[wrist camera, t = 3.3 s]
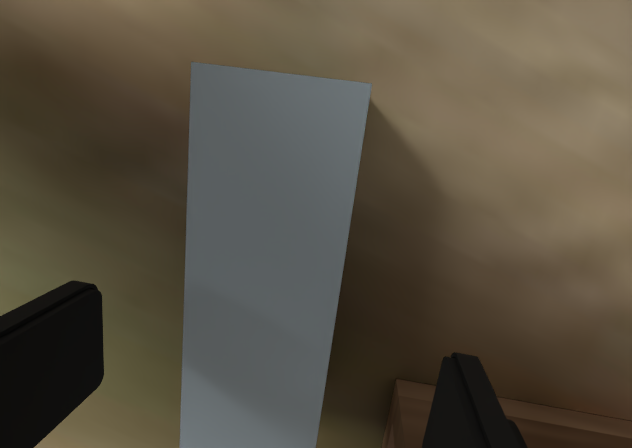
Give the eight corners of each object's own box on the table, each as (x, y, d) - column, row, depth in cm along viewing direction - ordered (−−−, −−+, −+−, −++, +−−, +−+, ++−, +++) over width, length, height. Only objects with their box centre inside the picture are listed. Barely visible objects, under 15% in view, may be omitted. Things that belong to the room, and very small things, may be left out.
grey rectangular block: (251, 82, 16) (190, 61, 10) (368, 97, 16) (371, 83, 10) (231, 362, 20) (179, 459, 14) (324, 379, 20) (309, 486, 14)
